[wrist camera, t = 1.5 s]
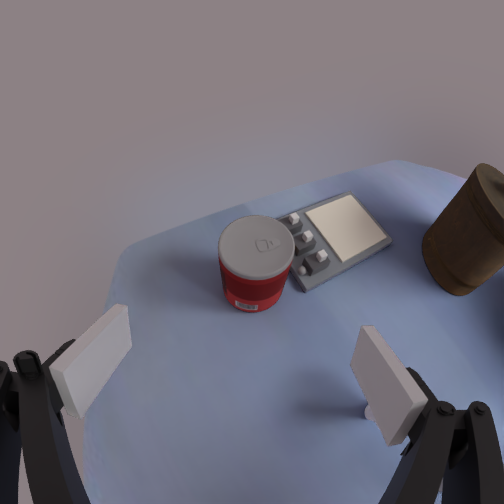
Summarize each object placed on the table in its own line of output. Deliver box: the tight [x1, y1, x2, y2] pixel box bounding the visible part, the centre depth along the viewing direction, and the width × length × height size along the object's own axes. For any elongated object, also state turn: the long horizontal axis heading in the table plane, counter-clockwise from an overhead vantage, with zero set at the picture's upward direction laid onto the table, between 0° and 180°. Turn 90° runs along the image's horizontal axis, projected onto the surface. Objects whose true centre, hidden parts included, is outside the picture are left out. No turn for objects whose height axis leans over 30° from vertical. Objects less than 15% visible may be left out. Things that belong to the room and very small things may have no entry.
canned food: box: [218, 215, 295, 312], centre depth 33 cm, size 8×8×11 cm
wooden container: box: [422, 163, 504, 296], centre depth 32 cm, size 15×15×22 cm
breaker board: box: [276, 191, 393, 293], centre depth 41 cm, size 18×12×4 cm, turn 118°
